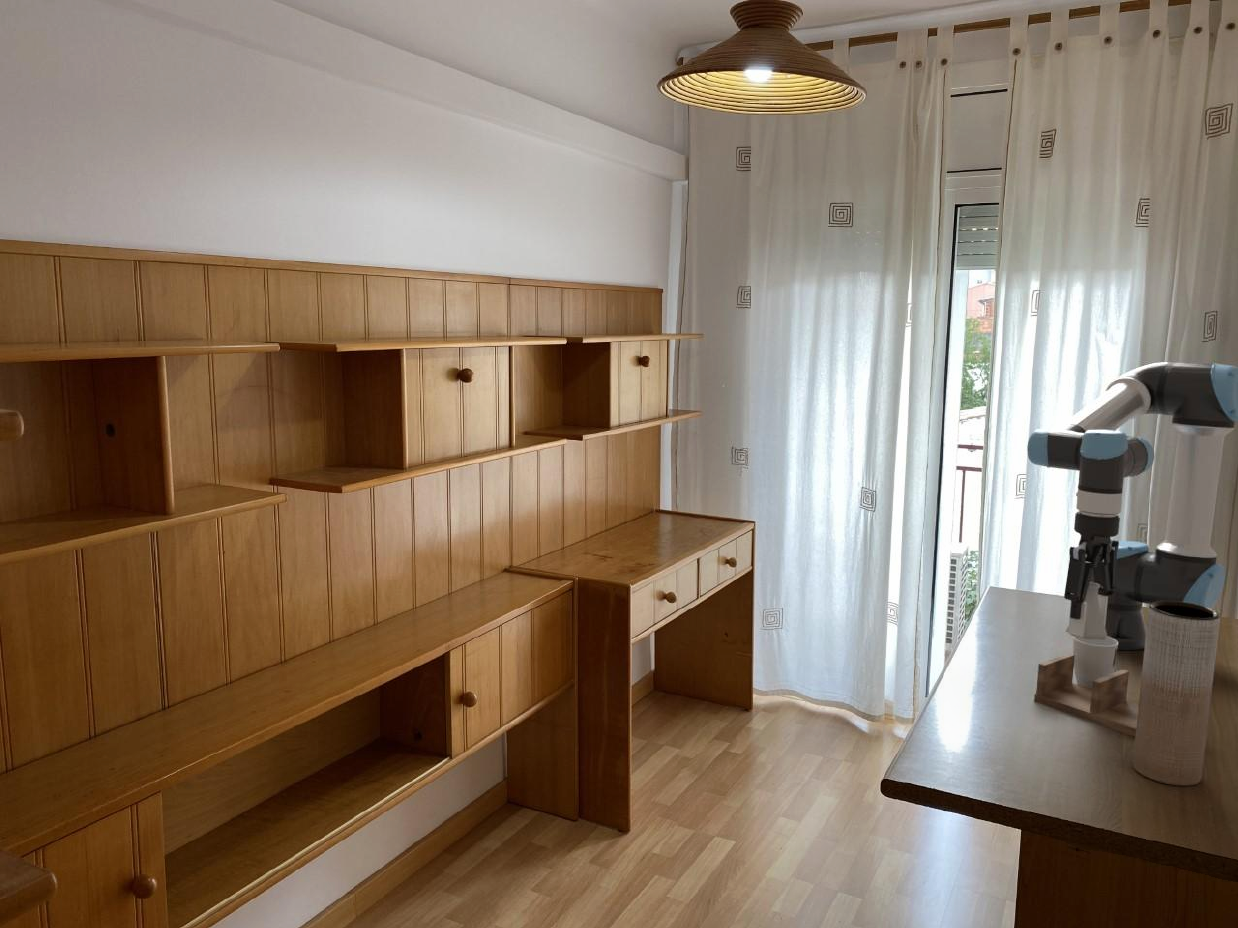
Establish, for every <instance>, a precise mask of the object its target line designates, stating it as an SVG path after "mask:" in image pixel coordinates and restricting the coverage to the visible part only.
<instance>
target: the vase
mask: <svg viewBox="0 0 1238 928" xmlns="http://www.w3.org/2000/svg"><path fill="white" fill-rule="evenodd" d="M1220 621H1221V614H1220V613H1219V612H1218V611H1216V610H1215V609H1213V608H1212V609H1210V608H1208V607H1205V606H1201V605H1197V604H1192V603H1186V602H1178V601H1157V602H1153V603H1151V604H1148V612H1147V622H1146V623H1147V624H1146V630H1147V631H1146V640H1145V648H1144V651H1143V659H1142V660H1143V663H1142V669H1141V671H1142V672H1141V680H1140V681H1141V682H1140V690H1139V701H1138V704H1139V707H1138V717H1137V726H1136V736H1135V737H1134V746H1133V755H1132V756H1133V757H1132V767H1133V768H1134V770H1135V771H1136V773H1138V774H1140V775H1141V776H1143V777H1145V778H1147V779H1149V780H1151V781H1154V782H1157V783H1160V784H1165V785H1171V786H1176V787H1177V786H1178V787H1179V786H1181V787H1188V786H1195V785H1198V784H1199V783H1200V782H1201V780H1202V776H1203V770H1204V768H1203V767H1204V762H1205V761H1204V759H1205V753H1206V752H1205V751H1206V750H1205V749H1206V742H1207V735H1208V724H1209V719H1210V708H1211V699H1212V691H1213V690H1212V689H1213V682H1214V675H1215V673H1214V672H1215V665H1216V664H1215V663H1216V658H1217V657H1216V656H1217V649H1218V648H1217V647H1218V640H1219V631H1220Z"/></svg>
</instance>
